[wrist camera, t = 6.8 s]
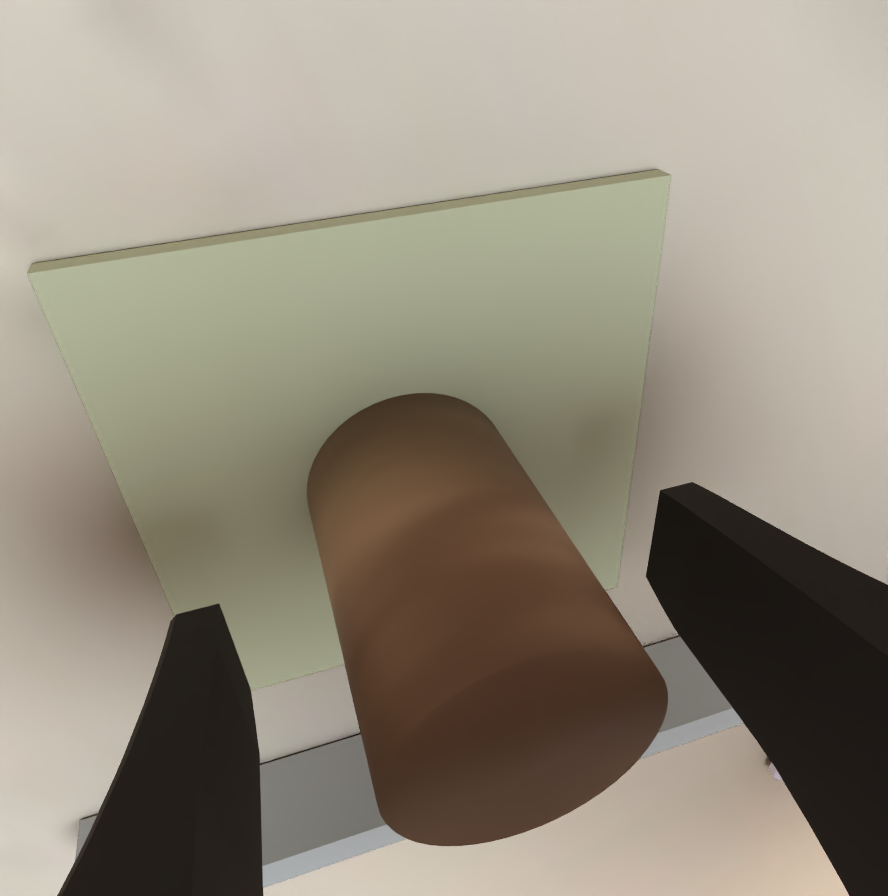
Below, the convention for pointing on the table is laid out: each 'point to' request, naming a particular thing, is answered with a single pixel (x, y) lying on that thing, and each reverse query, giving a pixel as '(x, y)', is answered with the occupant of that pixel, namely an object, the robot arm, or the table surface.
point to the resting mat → (357, 377)
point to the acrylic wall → (352, 795)
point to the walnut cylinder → (471, 628)
